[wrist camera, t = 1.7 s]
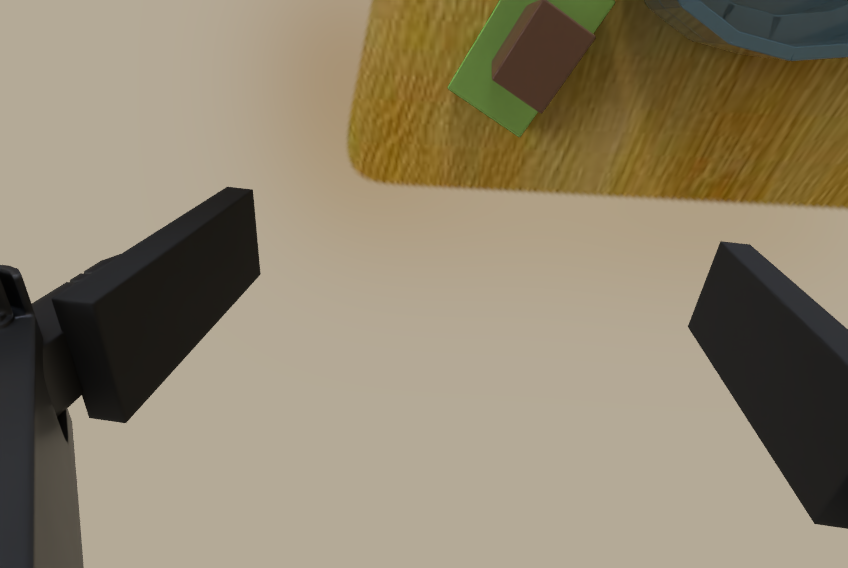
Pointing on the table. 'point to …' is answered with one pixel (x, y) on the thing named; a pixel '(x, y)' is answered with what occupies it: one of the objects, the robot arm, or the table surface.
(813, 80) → the table surface
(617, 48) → the table surface
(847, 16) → the bowl
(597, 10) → the sponge brush
